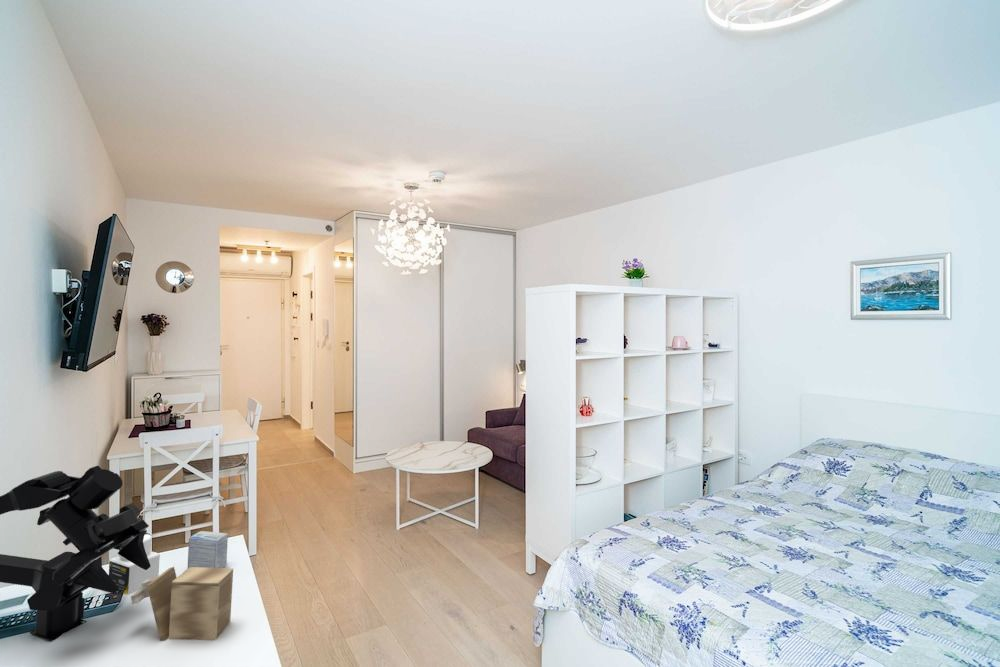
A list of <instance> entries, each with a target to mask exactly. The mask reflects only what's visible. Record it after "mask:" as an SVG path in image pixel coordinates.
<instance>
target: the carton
mask: <svg viewBox="0 0 1000 667" xmlns="http://www.w3.org/2000/svg"><path fill="white" fill-rule="evenodd" d="M187 568H188V567H187ZM176 577H177V578H176V579H175V580H173V581H172V589H171V607H170V625H169V637H168V640H187V641H189V640H191V641H216V640H217V639H218V638H219V636H220V635H221V634H222V633H223V632H224V631H225V629H226V628H227V627H228V626H229V624H231V618H232V617H231V615H232V599H233V595H232V594H233V580H234V579H233V578H234V568H230V567H223V568H204V567H189V568H188V569H185V570H184V571H183V572H182V573H181V574H179V575H178V576H176Z"/></svg>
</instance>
